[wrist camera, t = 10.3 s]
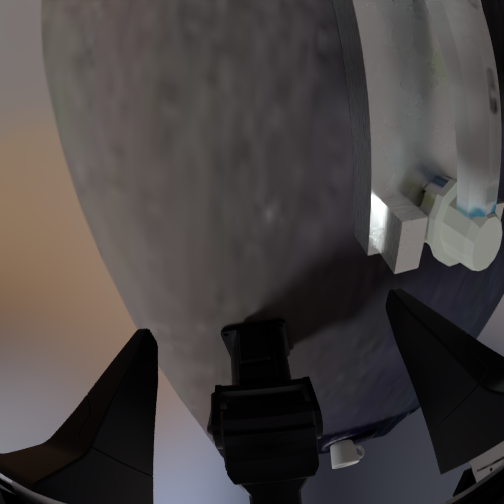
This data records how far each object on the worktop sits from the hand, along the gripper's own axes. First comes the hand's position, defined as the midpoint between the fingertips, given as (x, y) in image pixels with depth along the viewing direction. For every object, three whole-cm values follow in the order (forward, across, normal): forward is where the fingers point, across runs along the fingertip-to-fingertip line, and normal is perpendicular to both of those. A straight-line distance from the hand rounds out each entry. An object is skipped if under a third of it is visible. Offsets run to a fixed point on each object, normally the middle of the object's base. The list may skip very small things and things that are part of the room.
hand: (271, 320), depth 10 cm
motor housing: (+11, -13, -11) cm, 21 cm away
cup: (+13, -17, +77) cm, 80 cm away
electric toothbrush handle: (+9, -13, -8) cm, 18 cm away
